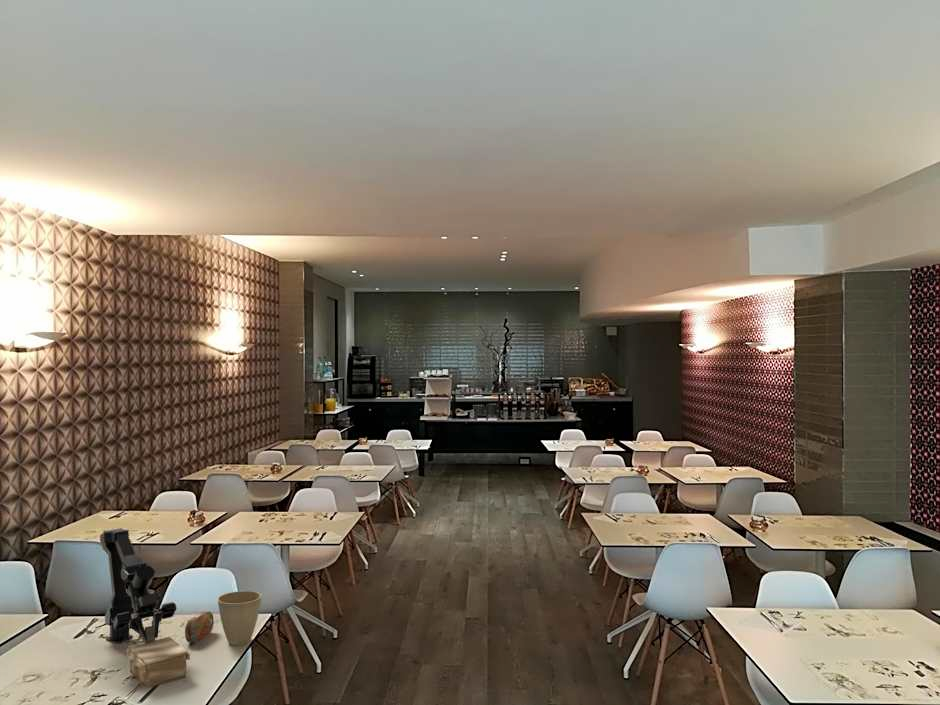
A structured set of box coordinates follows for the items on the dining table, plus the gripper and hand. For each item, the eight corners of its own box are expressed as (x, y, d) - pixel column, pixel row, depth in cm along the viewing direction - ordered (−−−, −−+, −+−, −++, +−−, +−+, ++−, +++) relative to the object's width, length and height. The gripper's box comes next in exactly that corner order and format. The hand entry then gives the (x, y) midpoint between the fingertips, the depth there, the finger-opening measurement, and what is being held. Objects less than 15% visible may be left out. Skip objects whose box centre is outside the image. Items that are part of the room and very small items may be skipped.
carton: (130, 671, 238) (130, 649, 238) (168, 661, 246) (168, 640, 246) (146, 688, 226) (146, 665, 226) (186, 677, 234) (186, 654, 234)
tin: (191, 646, 259) (191, 622, 259) (183, 646, 259) (183, 621, 259) (214, 631, 273) (214, 608, 274) (206, 630, 274) (206, 608, 274)
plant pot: (253, 650, 255) (253, 603, 255) (211, 649, 256) (211, 603, 256) (266, 634, 270) (266, 590, 270) (226, 634, 270) (226, 590, 271)
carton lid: (126, 655, 237) (126, 631, 237) (170, 644, 247) (170, 621, 247) (143, 672, 225) (143, 646, 225) (189, 659, 234) (189, 634, 234)
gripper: (116, 589, 238) (126, 633, 230) (174, 577, 251) (186, 619, 242) (108, 607, 244) (118, 651, 236) (166, 595, 257) (178, 636, 248)
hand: (151, 638), depth 240 cm, fingers closed on carton lid, 3 cm apart
